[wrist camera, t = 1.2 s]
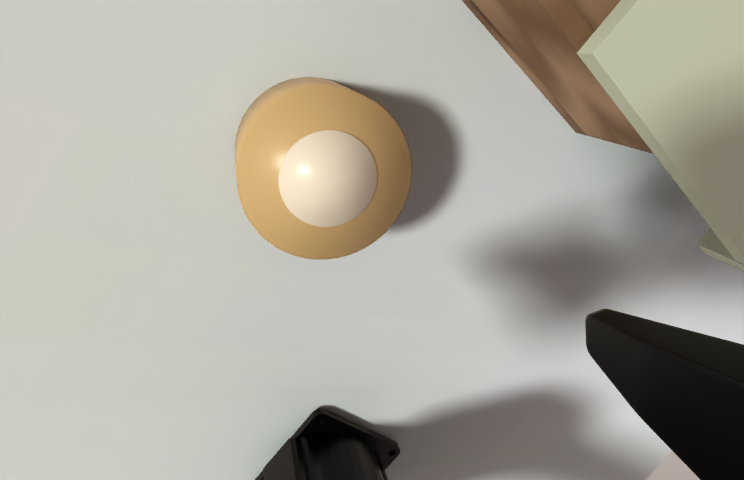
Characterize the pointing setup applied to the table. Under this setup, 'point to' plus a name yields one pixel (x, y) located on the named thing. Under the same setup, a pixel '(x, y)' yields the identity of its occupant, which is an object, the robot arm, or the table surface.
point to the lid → (683, 100)
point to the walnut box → (560, 59)
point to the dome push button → (320, 168)
